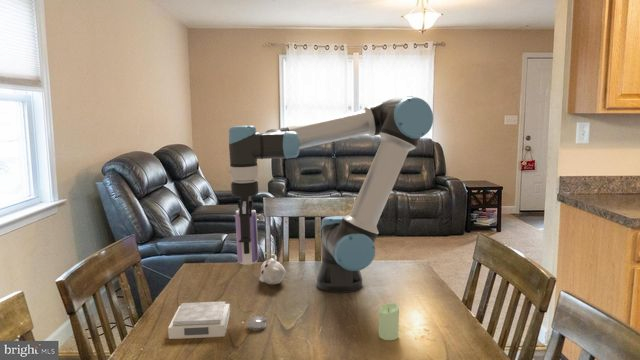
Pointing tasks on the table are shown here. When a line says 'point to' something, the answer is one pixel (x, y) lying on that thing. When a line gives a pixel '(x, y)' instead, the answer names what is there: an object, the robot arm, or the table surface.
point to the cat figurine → (272, 271)
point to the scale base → (200, 328)
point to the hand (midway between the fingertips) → (248, 260)
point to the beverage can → (253, 236)
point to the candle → (389, 321)
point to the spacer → (256, 323)
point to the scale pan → (199, 313)
